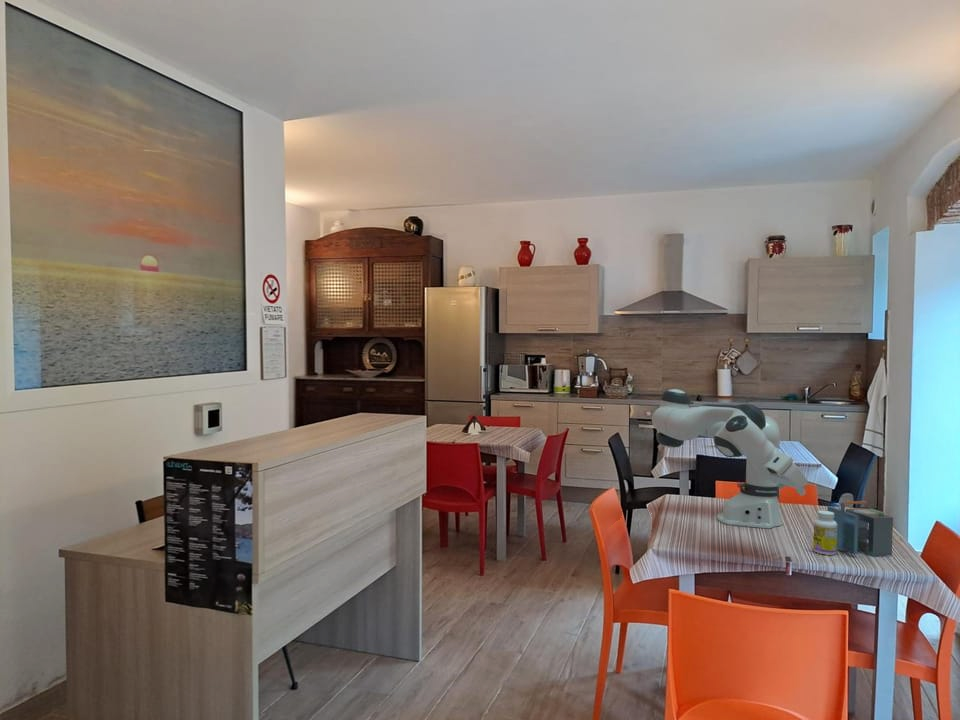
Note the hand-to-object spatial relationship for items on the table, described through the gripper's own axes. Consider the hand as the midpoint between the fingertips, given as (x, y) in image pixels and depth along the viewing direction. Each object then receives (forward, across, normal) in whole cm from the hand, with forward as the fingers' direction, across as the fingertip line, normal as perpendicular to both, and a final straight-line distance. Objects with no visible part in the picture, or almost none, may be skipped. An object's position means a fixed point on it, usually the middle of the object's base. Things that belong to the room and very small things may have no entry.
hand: (792, 490), depth 211 cm
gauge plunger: (+30, 0, +3) cm, 30 cm away
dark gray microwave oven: (+34, 0, +6) cm, 34 cm away
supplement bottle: (+23, 0, -6) cm, 24 cm away
